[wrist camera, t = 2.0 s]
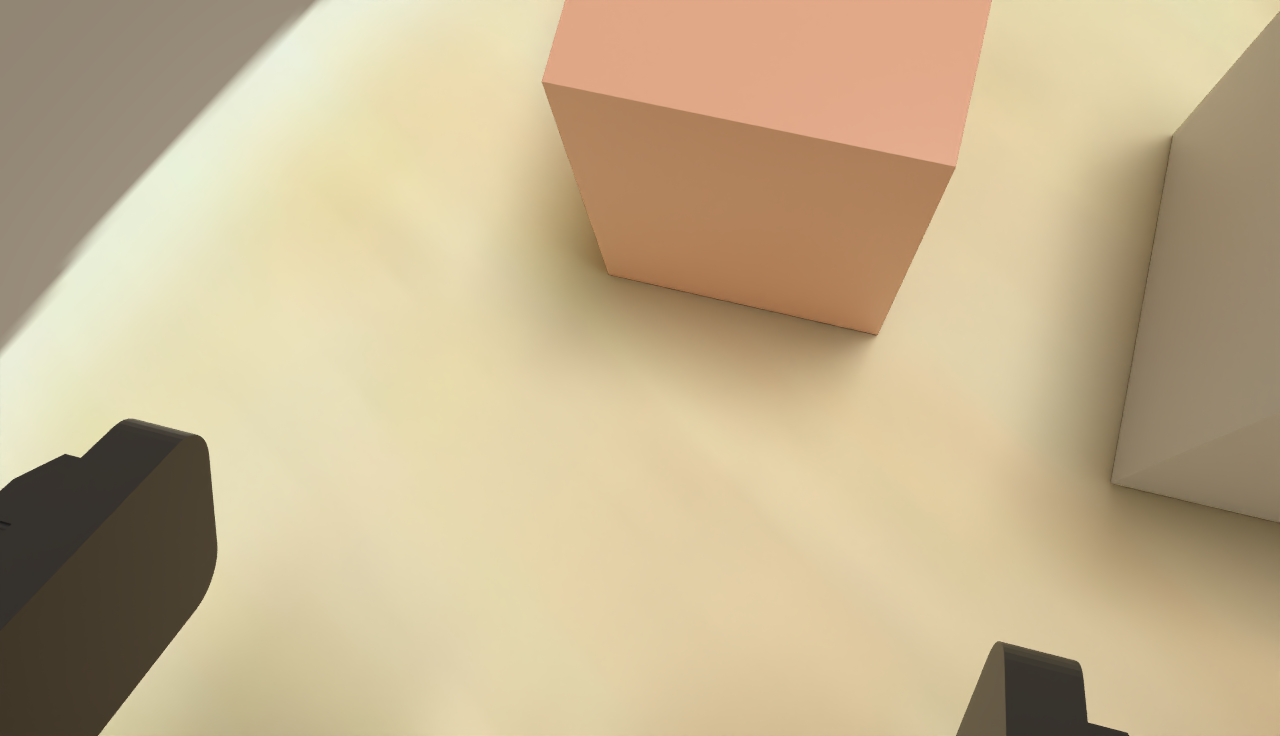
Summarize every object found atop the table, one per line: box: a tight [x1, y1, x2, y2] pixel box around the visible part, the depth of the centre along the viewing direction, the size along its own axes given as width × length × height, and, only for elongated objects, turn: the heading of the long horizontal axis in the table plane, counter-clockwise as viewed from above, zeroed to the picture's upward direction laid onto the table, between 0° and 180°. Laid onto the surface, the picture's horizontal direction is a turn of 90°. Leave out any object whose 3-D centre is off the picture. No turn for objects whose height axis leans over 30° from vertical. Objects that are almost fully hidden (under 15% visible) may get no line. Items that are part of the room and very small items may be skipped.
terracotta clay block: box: [542, 0, 992, 335], centre depth 24 cm, size 8×6×10 cm
